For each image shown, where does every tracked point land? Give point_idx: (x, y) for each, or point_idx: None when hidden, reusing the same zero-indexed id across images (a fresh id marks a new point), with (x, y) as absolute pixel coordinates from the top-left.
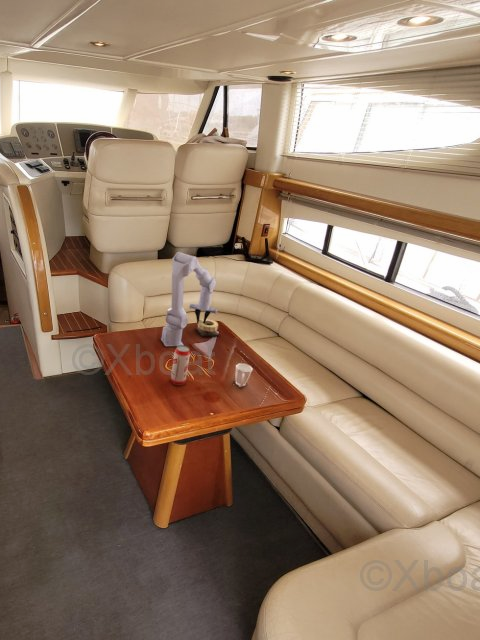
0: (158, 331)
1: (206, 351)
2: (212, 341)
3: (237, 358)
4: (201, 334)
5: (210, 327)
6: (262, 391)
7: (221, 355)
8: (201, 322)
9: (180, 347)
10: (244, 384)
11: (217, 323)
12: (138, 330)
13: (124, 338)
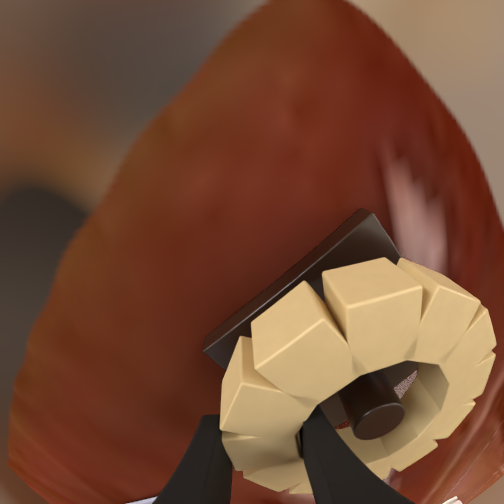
0: (50, 451)
1: None
2: None
3: (481, 443)
4: None
5: (400, 470)
6: (482, 484)
7: (426, 473)
8: (279, 463)
9: None
10: (453, 501)
11: (490, 348)
12: (11, 454)
13: (48, 499)
